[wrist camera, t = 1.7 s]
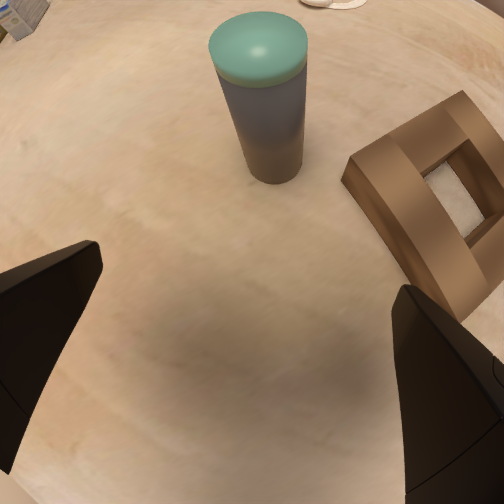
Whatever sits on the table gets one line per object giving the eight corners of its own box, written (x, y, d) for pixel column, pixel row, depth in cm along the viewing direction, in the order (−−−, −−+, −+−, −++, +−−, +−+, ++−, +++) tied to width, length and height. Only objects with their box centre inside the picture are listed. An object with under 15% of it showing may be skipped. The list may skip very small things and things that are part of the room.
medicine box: (33, 14, 33) (11, -12, 24) (51, 4, 32) (28, -24, 24) (16, 42, 32) (-10, 15, 23) (34, 32, 31) (7, 3, 23)
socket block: (522, 231, 19) (550, 221, 15) (432, 321, 19) (459, 324, 15) (444, 115, 21) (462, 90, 17) (340, 180, 21) (350, 156, 18)
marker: (313, 165, 22) (328, 46, 10) (266, 194, 22) (240, 88, 10) (281, 126, 23) (270, 2, 11) (236, 153, 23) (192, 37, 11)
